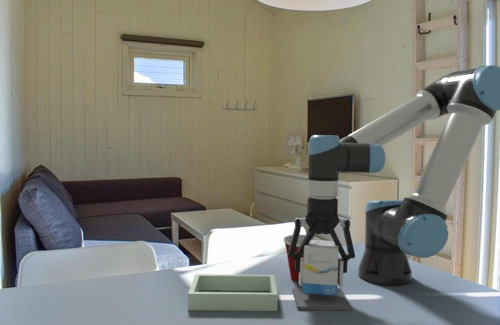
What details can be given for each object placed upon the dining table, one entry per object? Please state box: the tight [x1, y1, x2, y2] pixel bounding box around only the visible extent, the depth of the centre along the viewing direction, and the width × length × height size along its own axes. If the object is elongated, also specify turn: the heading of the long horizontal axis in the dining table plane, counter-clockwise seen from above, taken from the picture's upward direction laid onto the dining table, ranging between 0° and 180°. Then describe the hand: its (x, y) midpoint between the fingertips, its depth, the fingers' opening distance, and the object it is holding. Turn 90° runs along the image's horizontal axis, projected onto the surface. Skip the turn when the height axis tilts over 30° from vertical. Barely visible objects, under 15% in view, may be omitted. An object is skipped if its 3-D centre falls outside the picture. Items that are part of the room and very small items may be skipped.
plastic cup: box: [283, 234, 321, 283], centre depth 130 cm, size 11×11×12 cm
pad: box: [291, 287, 353, 311], centre depth 114 cm, size 13×13×1 cm
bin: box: [187, 273, 279, 312], centre depth 114 cm, size 21×15×4 cm
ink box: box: [302, 239, 339, 295], centre depth 113 cm, size 8×8×12 cm
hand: (320, 284), depth 114 cm, fingers closed on ink box, 9 cm apart
